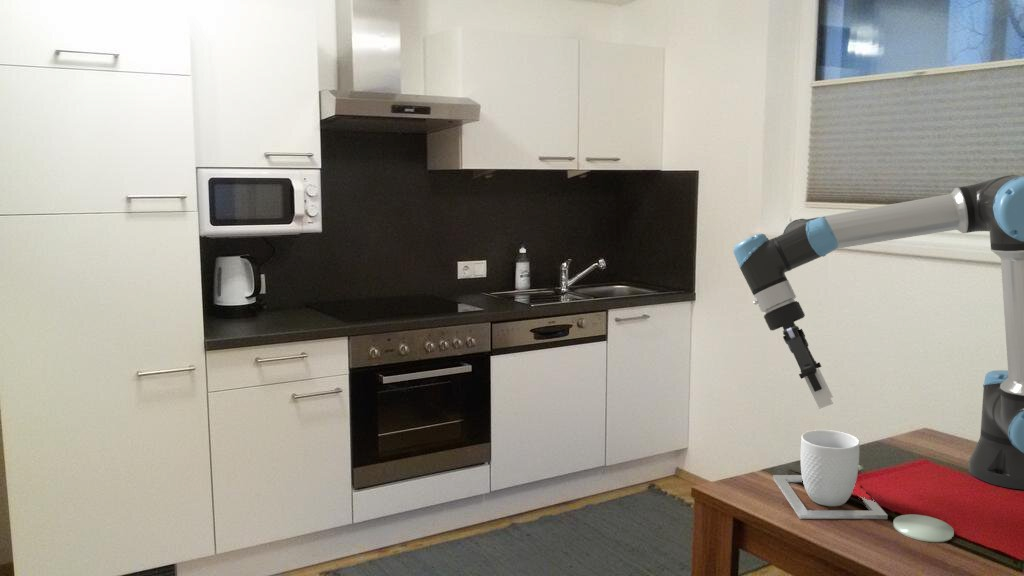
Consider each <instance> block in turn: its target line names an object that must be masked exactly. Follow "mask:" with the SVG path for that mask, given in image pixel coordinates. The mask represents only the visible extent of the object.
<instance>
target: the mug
mask: <svg viewBox="0 0 1024 576" xmlns="http://www.w3.org/2000/svg"><path fill="white" fill-rule="evenodd" d="M800 437H801V439H800V441H801V442H800V457H799V458H800V459H799V460H800V471H801V472H800V473H801V474H800V475H802V480H803V482H802V483H803V486H804V490H805V491H806V494H807V495H808V497H809V498H810V500H812V502H814V503H816V504H818V505H820V506H825V507H840V506H843V505H844V504H845V503H847V501H849V499H850V497H851V496H852V495H853V494H852V493H853V489H854V487H855V483H856V481H857V480H858V479H857V478H858V474H859V473H858V472H859V465H860V446H861V445H860V444H861V443H860V440H859V439H858V437H856V436H854V435H852V434H849V433H846V432H842V431H839V430H831V429H814V430H808V431H805V432H804V433H803V434H801V436H800Z"/></svg>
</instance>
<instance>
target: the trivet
mask: <svg viewBox="0 0 1024 576" xmlns="http://www.w3.org/2000/svg"><path fill="white" fill-rule="evenodd" d="M892 526H893V528H894V529H895V530H896V532H898V533H899V534H901V535H903V536H905V537H908V538H909V539H914V540H917V541H921V542H927V543H942V542H949V540H952V539H953V538H954V536H955V534H954V533H955V530H954V528H953V527H952V526H951V525H950V524H948V523H947V522H945V521H944V520H942V519H938V518H936V517H932V516H928V515H923V514H911V513H910V514H902V515H898V516H896V517H894V519H893V523H892ZM952 537H953V538H952Z"/></svg>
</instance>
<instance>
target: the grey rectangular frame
mask: <svg viewBox="0 0 1024 576" xmlns="http://www.w3.org/2000/svg"><path fill="white" fill-rule="evenodd" d="M772 479H773V481H774V482H775V484H776V485H777V487H778V488H779V490H780V491H781V492H782V494H783V496H784V497H785V499H786V501H787V502H788V503H789V505H790V506H791V508H792V509H793V510H794V512H795V513H796V515H797V517H798V518H799V520H800V519H801V520H888V514H887V513H886V511H885V510H884V509H883V508H882V507H881V506H880V505H879V503H877V501H875V499H873V501H871V500H867V499H865V497H864V498H863V497H861V496H860V497H861V498H862V500H863V502H864V503H865V505H866V506H865V505H864V506H865V508H867V510H858V509H857V510H847V509H846V510H845V509H844V510H837V509H836V510H835V509H833V510H829V509H828V510H826V509H825V510H819V509H818V510H815V509H813V510H810V509H809V510H808V509H807V508H806V507H805V505H804V503H803V502H802V501H801V499H800V497H798V495H797V493H796V492H795V491H794V489H793V488H792V486H791V485H790V484H789V483H803V482H802V481H803V480H802V474H773V475H772ZM874 501H875V502H874Z"/></svg>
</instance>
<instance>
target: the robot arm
mask: <svg viewBox="0 0 1024 576" xmlns="http://www.w3.org/2000/svg"><path fill="white" fill-rule="evenodd" d="M951 231H958V232H960V233H961V234H968V233H969V234H970V233H975V232H989V240H990V241H989V242H990V251H991V252H992V253H994V254H995V255H997V256H998V257H999V259H1000V266H1001V267H1000V269H1001V282H1002V283H1001V285H1002V300H1003V312H1004V313H1003V315H1004V327H1005V328H1004V329H1005V331H1004V332H1005V341H1006V358H1007V359H1006V360H1007V370H1004V369H1003V370H1002V369H1000V370H999V369H997V370H991V371H988V372H987V373H986V374H985V376H984V379H983V380H984V381H983V384H982V388H983V390H982V391H983V392H982V408H981V409H982V410H981V421H980V433H979V434H980V435H979V439H978V440H977V443H976V445H975V447H974V449H973V450H972V454H971V456H970V457H969V460H968V472H969V474H971V476H973V477H975V478H976V479H979V480H980V481H982V482H986V483H988V484H991V485H993V486H998V487H1002V488H1008V489H1013V490H1024V175H1015V174H1014V175H1004V176H1000V177H995V178H991V179H989V180H986V181H982V182H977V183H973V184H970V185H965V186H960V187H955V188H954V189H953V190H952V191H951V192H950V193H948V194H942V195H936V196H931V197H926V198H920V199H915V200H914V199H913V200H909V201H903V202H898V203H897V202H896V203H893V204H891V203H890V204H886V205H880V206H874V207H870V208H869V207H868V208H863V209H858V210H853V211H846V212H841V213H840V212H839V213H834V214H830V215H824V216H820V217H818V216H817V217H812V218H798V219H794V220H792V221H790V222H789V223H788V224H787V225H786V226H785V228H784V230H783V233H782V234H781V235H778V236H776V237H773V238H770V239H769V238H768V237H767V235H766V234H764V233H759V234H754V236H750V237H748V238H746V239H744V240H741V241H740V242H738V243H737V244H736V245H735V246H734V248H733V255H734V257H735V259H736V262H737V264H738V266H739V267H738V268H739V269H740V272H741V273H742V275H743V277H744V279H745V282H746V284H747V285H748V287H749V289H750V292H751V293H752V296H754V298H755V299H753V305H758V307H759V309H760V311H761V312H762V313H765V314H764V315H763V318H764V320H765V323H766V325H767V326H768V328H769V330H770V331H775V330H778V329H781V328H782V329H783V330H782V335H783V336H782V337H783V340H784V342H785V344H786V345H787V346H788V349H789V350H790V352H791V353H792V355H793V356H794V359H795V361H796V363H797V365H798V366H799V369H800V373H798V376H799V378H800V379H804V380H805V382H806V384H807V385H808V388H809V390H810V392H811V394H812V397H813V398H814V401H815V402H816V404H817V407H818V409H819V410H820V409H823V408H826V407H828V406H831V405H834V402H833V400H832V398H833V397H834V396H833V394H832V392H831V390H830V388H829V386H828V384H827V382H826V380H825V378H824V376H823V374H822V372H821V369H820V368H821V367H822V364H821V363H820V361H819V362H817V361H816V360H815V358H814V356H813V355H812V353H811V351H810V348H809V343H808V340H807V338H806V335H805V332H804V331H803V328H800V327H799V325H796V323H795V322H797V321H799V320H802V319H804V318H805V315H806V314H805V312H804V310H803V308H802V306H801V304H800V302H799V301H797V300H795V299H796V298H797V296H796V293H795V292H794V289H793V288H792V286H791V284H790V281H789V280H788V278H787V275H786V273H788V272H791V271H792V270H794V269H796V268H799V267H801V266H803V265H806V264H808V263H810V262H813V261H814V260H817V259H819V258H821V257H826V256H827V255H828V254H830V253H832V252H833V251H836V250H837V249H843V248H849V247H855V246H856V247H857V246H863V245H867V244H873V243H880V242H887V241H893V240H899V239H900V240H901V239H906V238H907V239H908V238H913V237H917V236H918V237H920V236H925V235H931V234H938V233H944V232H951Z"/></svg>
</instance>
